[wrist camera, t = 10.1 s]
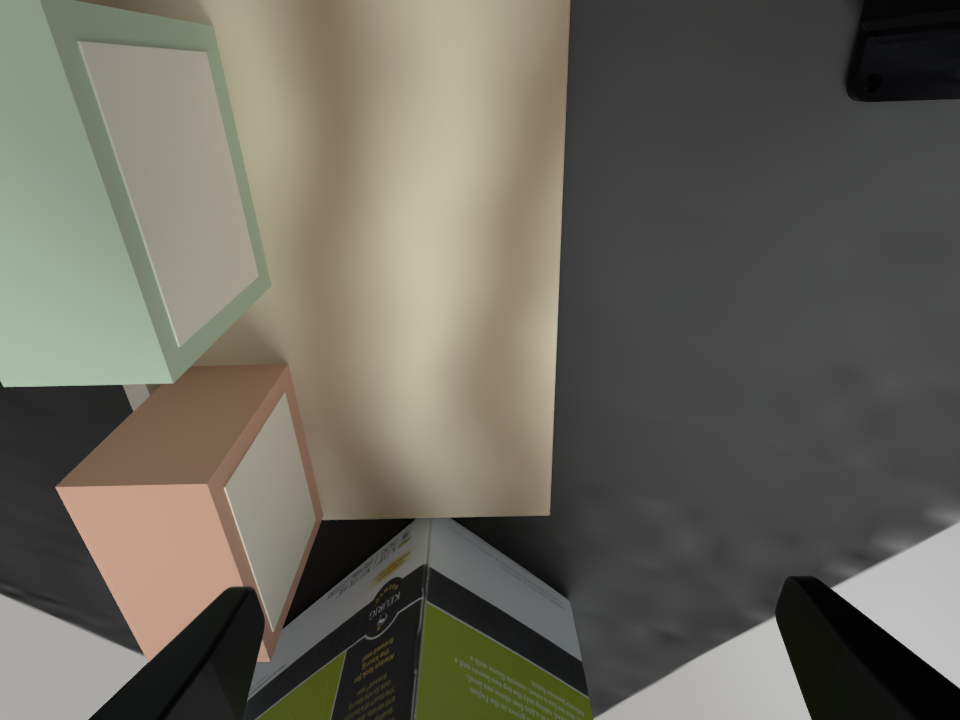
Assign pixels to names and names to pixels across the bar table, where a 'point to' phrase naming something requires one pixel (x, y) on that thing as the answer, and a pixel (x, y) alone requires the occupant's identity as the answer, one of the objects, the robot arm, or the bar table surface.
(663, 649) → the bar table surface
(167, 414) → the pink box
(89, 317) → the sage carton
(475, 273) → the shelf board
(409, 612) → the tea box
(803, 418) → the bar table surface
